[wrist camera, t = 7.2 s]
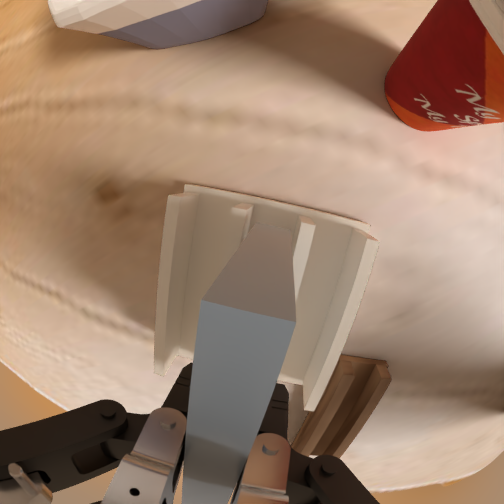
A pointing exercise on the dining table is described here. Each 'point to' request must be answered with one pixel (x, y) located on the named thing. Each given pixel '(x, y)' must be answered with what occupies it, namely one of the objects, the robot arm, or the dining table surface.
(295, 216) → the rack
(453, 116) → the coffee cup
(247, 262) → the grey-blue flat slab
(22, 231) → the dining table surface
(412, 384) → the dining table surface
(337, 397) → the stand
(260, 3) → the bowl
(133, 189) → the dining table surface
